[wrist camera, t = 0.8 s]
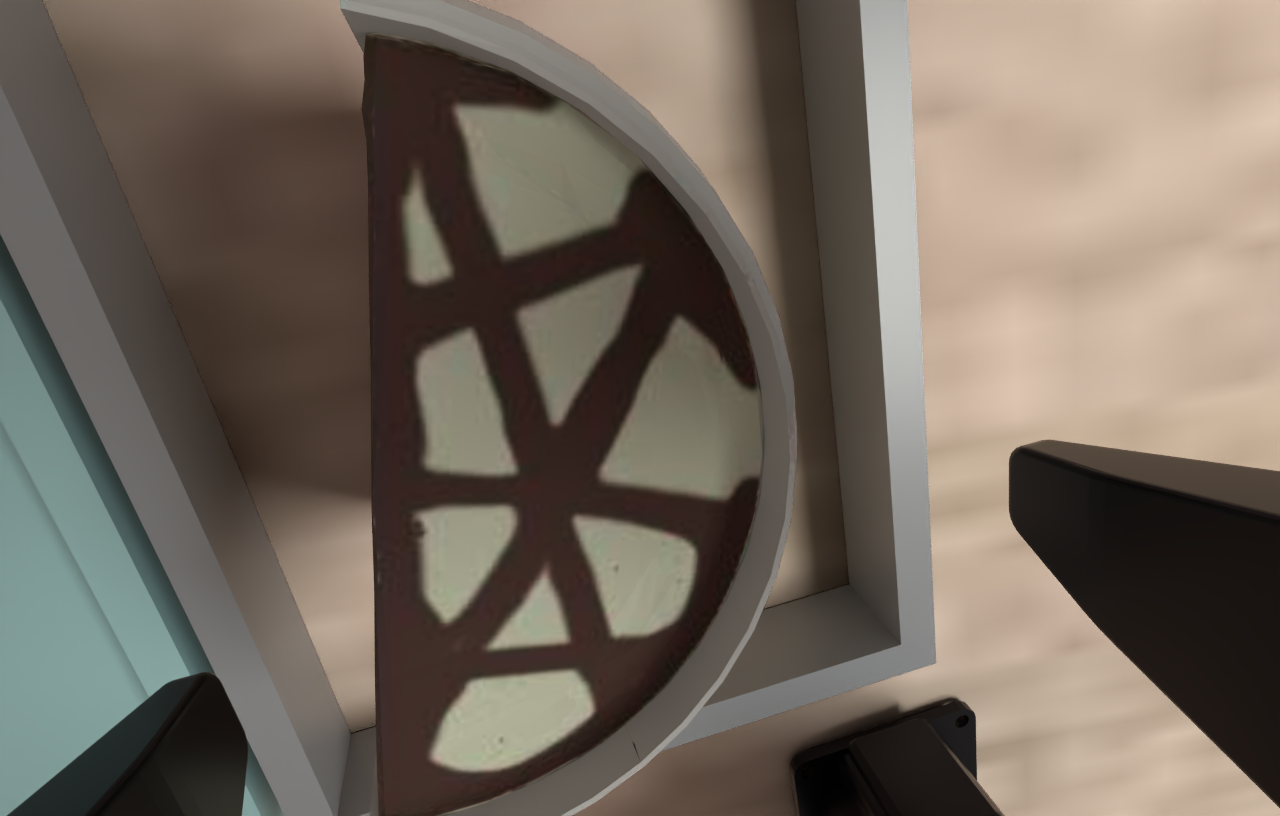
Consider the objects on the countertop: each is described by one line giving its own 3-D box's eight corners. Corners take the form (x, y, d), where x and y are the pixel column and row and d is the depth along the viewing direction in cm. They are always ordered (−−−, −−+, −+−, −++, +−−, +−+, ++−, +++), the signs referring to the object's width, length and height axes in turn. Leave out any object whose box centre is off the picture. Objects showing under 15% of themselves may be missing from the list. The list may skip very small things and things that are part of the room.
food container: (633, 550, 22) (764, 861, 13) (401, 557, 20) (363, 914, 11) (682, 70, 18) (927, 22, 9) (399, 36, 16) (338, -66, 7)
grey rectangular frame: (881, 601, 24) (936, 663, 22) (326, 771, 22) (308, 864, 19) (816, -274, 16) (891, -354, 13) (-88, -154, 14) (-222, -221, 11)
